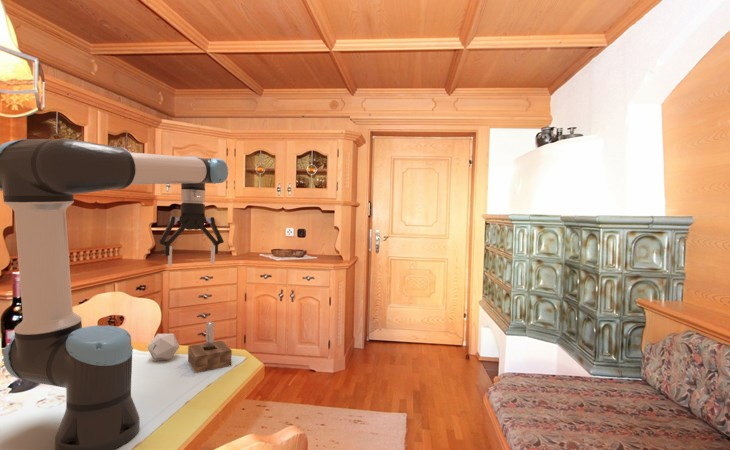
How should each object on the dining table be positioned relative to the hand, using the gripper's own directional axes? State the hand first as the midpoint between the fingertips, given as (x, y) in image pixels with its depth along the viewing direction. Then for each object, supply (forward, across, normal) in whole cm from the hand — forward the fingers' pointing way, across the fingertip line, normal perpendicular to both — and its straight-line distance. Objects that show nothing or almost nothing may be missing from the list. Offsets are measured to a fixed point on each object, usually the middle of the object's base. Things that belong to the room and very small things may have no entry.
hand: (191, 264), depth 130 cm
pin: (+30, +4, -10) cm, 32 cm away
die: (+32, -8, +2) cm, 33 cm away
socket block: (+32, +4, -10) cm, 33 cm away
